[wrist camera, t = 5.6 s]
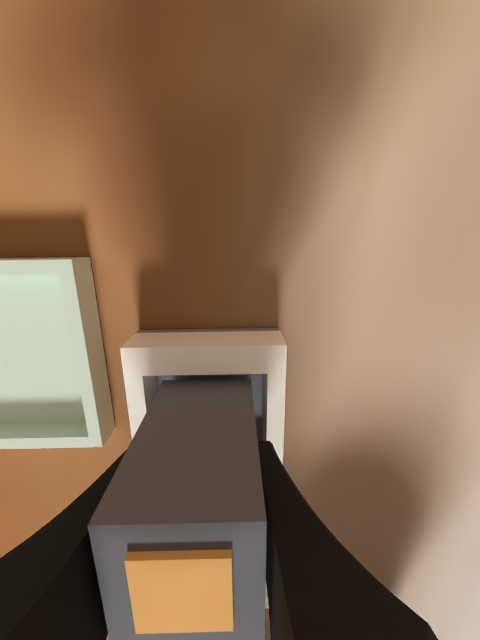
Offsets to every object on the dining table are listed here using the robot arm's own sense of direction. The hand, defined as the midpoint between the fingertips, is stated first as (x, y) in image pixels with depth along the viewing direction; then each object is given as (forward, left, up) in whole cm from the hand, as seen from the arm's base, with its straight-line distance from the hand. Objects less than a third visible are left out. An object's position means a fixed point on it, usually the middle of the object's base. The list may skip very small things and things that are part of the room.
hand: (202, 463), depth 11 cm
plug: (0, 0, -3) cm, 3 cm away
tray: (-10, +3, -5) cm, 11 cm away
